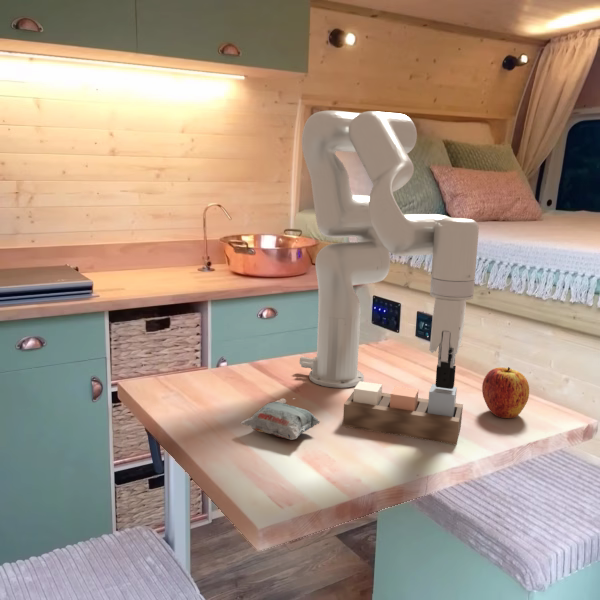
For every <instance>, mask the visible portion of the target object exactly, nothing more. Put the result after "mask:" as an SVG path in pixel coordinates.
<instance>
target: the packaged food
mask: <svg viewBox="0 0 600 600" xmlns="http://www.w3.org/2000/svg"><path fill="white" fill-rule="evenodd" d="M320 423H321V421H320V420H319V419H318V418H317V417H316V416H315V414H313V413H312V412H310V410H307V409H305V408H301V407H297V406H295V405H289V404H287V403H281V402H276V401H272V402H269V403H266V404H265V405H264V406H262V407H261V408H260V409H259V410H257V411H256V412H255V413H254V414H253V415H252V416H251V417H249V418H246V419H244V420H242V421H241V423H240V424H241V425H246V426H249V427H251V428H252V429H253V430H255V431H257V432H260V433H265V434H268V435H273V436H275V437H278V438H281V439H288V440H291V441H292V440H297V439H298V437H300V435H301V434H303V433H305V432H306V431H308V430H309V429H311V428H314V427H315V426H317V425H319V424H320Z"/></svg>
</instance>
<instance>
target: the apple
mask: <svg viewBox="0 0 600 600" xmlns="http://www.w3.org/2000/svg"><path fill="white" fill-rule="evenodd" d="M481 390H482V391H481V392H482V398H483V400H484V403H485V404H486V406H487V408H488V410H489V411H490V412H491V413H492V414H493V415H495V416H496V417H498V418H501V419H513V418H516V417H517V416H519V415H520V414H521V413H522V411H523V410H524V408H525V407H526V405H527V404H528V403H527V402H528V400H529V397H530V385H529V381H528V380H527V377H525V375H524V374H522V373H521V372H520V371H518V370H516V369H513V368H511V367H495V368H493V369H491V370H489V371H488V372H487V373H486V375H485V377H484V378H483V381H482V386H481Z"/></svg>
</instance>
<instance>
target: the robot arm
mask: <svg viewBox="0 0 600 600" xmlns="http://www.w3.org/2000/svg"><path fill="white" fill-rule="evenodd" d="M417 137H418V133H417V127H416V125H415V123H414V122H413V120H412V119H411V118H410V117H409V116H407V115H406V114H403V113H398V112H387V111H386V112H385V111H377V110H367V111H363V112H354V111H353V112H352V111H343V110H322V111H321V110H320V111H317V112H314V113H313V114H311V115H310V116H309V117H308V118H307V120H306V122H305V123H304V126H303V130H302V135H301V148H302V149H301V150H302V154H303V159H304V161H305V165H306V168H307V171H308V173H309V177H310V182H311V191H312V198H313V199H312V200H313V207H314V213H315V221H316V225H317V229H318V231H319V233H321V235H322V236H324V237H328V238H356V241H355V242H352V241H351V242H350V241H348V242H347V241H346V242H337V243H335V242H334V243H331V244H327V245H325V246H323V247H322V248H321V249H320V250H319V251H318V253H316V257H315V265H314V267H315V273H316V281H317V288H318V290H317V292H318V304H317V305H318V309H317V312H318V314H317V315H318V317H317V337H316V338H317V341H316V342H317V343H316V357H315V356H314V357H313V358H311V357H307V356H300V357H299V365H300V367H301V368H305V369H310V371H309V380H310V381H311V382H312V383H313V384H316V385H319V386H322V387H326V388H327V387H328V388H336V389H337V388H338V389H343V388H344V389H346V388H353V387H356V385H357V384H358V383H359V381H361V382H364V381H365V375H364V373H362V371H359V370H358V369H359V368H358V367H359V366H358V365H359V348H360V347H359V346H360V345H359V344H360V327H361V302H360V299H359V297H358V295H357V293H356V291H355V289H354V286H357V285H365V284H375V283H379V282H382V281H383V280H384V279H386V277H387V276H388V274H389V272H390V268H391V255H394V256H397V257H410V256H429V255H430V256H431V255H432V259H431V276H430V287H429V289H430V290H429V296H430V297H432V298H434V302H433V303H434V304H433V311H432V319H431V320H432V321H431V332H430V341H429V342H430V343H429V350H428V351H429V352H430V353H431V354H434V352H436V351H437V350H438V351H437V352H438V353H437V357H438V358H437V365H436V373H435V384H436V387H440V388H447V389H453V387H455V380H456V379H455V378H456V377H455V376H456V365H455V364H456V355H457V354H458V353H459V350H460V347H461V344H462V338H463V334H464V327H465V326H464V325H465V315H466V307H467V306H466V305H467V301H469V300H473V299H474V294H475V293H474V292H475V282H476V281H475V280H476V278H475V277H476V269H477V268H476V267H477V266H476V265H477V256H478V255H477V254H478V243H479V229H480V228H479V224H478V222H477V221H476V220H474V219H473V218H472V219H471V218H466V217H465V218H464V217H463V218H462V217H450V216H448V215H445V214H444V215H443V214H438V213H429V214H428V213H407V214H406V213H405V214H404V213H403V212H402V210H401V208H400V207H399V205H398V203H397V201H396V199H395V197H394V193H395V192H396V191H398V190H400V189H401V188H402V187H404V186H405V185H407V183H408V182H409V181H410V180H411V179H412V177H413V175H414V172H415V167H414V163H413V162H412V160H411V158H410V156H409V155H408V154H409V153H410V152H412V150H413V149H414V148H415V146H416V144H417V140H418V139H417ZM337 152H345V153H356V154H357V156H358V158H359V159H360V162H361V164H362V166H363V167H364V169H365V172H366V173H367V175H368V177H369V180H371V184H372V188H371V190H370V194H369V195H367V194H354V193H352V189H351V184H350V177H349V173H348V170H347V168H346V167H345V165H344V164H343V162H342V161H341V159H340V158H339V157H338V155H336V153H337ZM390 254H391V255H390Z"/></svg>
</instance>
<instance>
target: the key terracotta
mask: <svg viewBox="0 0 600 600" xmlns="http://www.w3.org/2000/svg"><path fill="white" fill-rule="evenodd" d="M390 394H391V395H390V407H391V408H397V409H404V410H410V411H416V410H417V403H418V398H419V389H416V388H410V387H403V386H396V385H395V386H394V387H393V389H392V391H391V392H390Z"/></svg>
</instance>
